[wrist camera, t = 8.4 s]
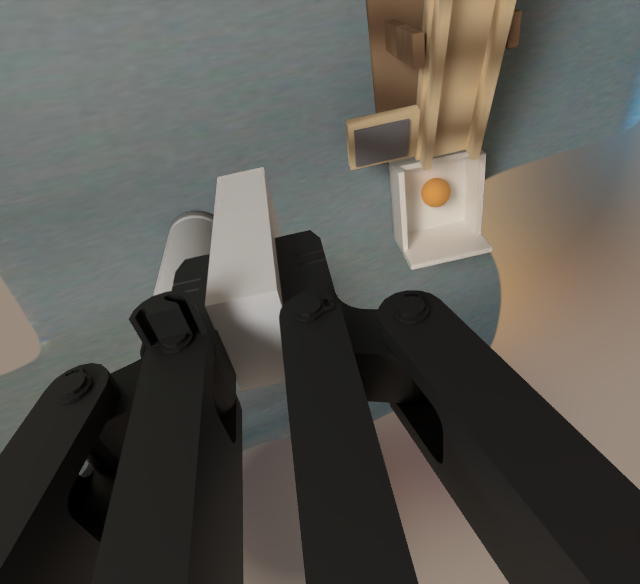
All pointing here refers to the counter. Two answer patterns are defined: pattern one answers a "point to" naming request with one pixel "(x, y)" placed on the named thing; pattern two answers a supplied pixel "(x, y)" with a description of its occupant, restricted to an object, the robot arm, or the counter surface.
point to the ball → (435, 192)
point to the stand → (403, 49)
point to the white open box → (439, 209)
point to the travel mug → (183, 247)
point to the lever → (441, 88)
